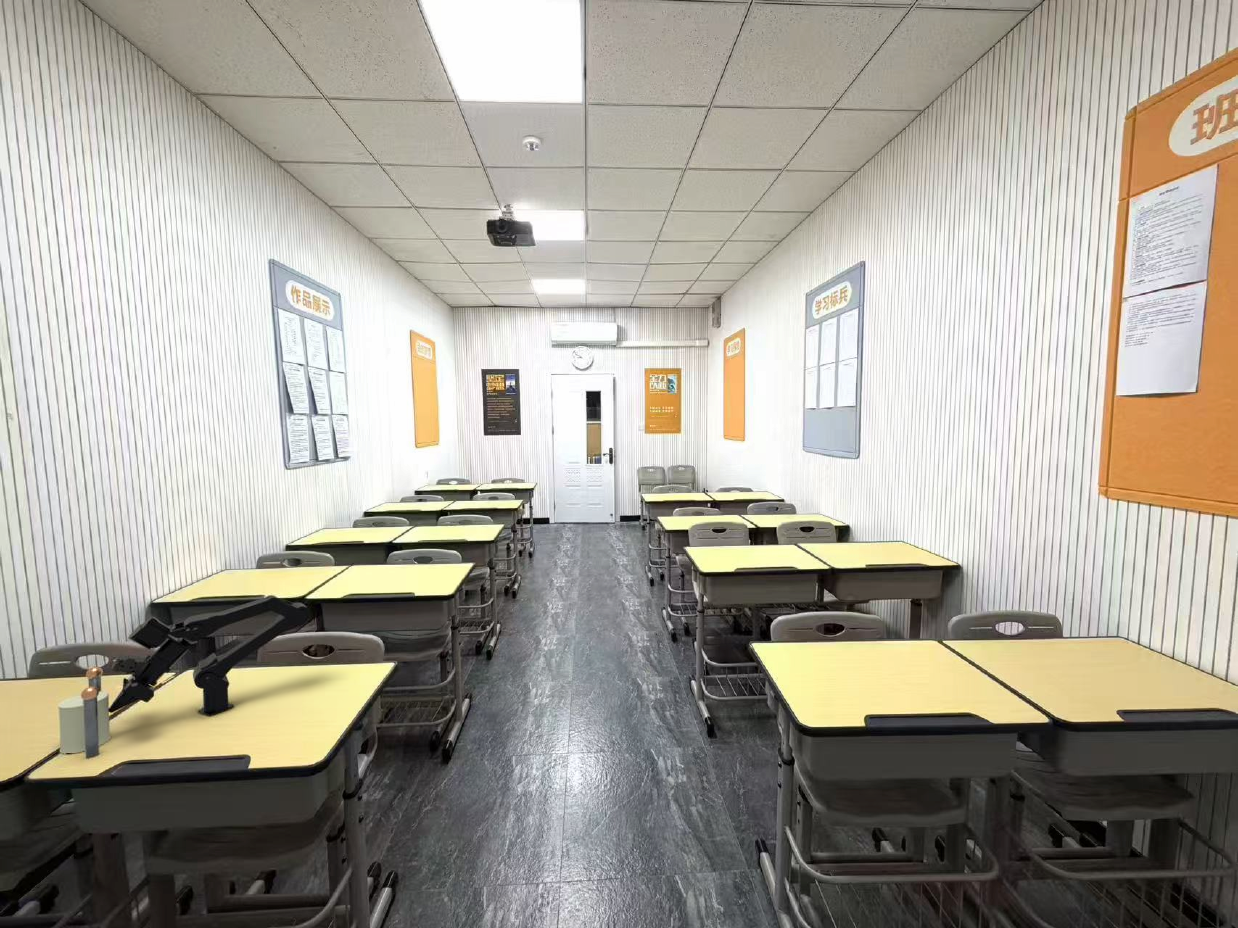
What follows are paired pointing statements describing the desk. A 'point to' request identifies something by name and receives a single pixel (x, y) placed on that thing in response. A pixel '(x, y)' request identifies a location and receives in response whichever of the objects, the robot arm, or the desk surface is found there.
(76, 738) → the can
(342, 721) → the desk surface
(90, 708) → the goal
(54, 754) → the desk surface
